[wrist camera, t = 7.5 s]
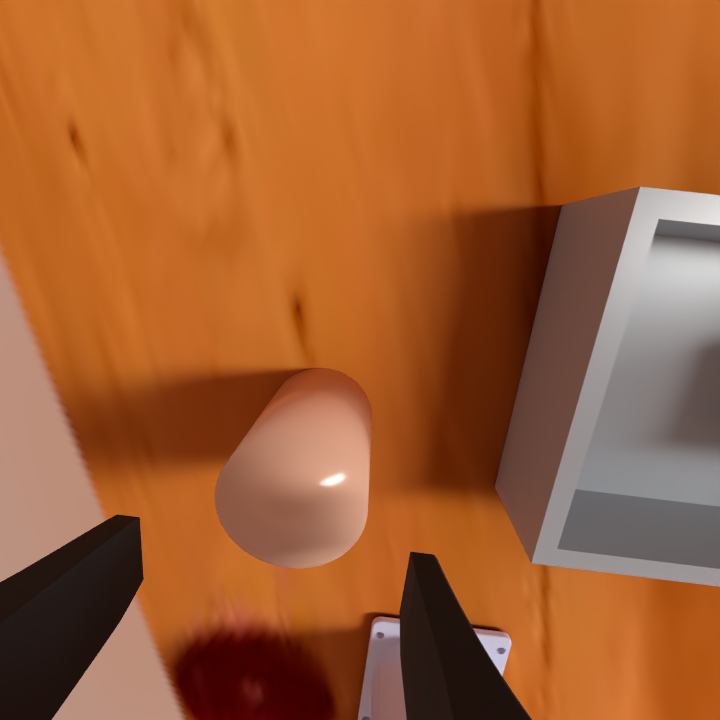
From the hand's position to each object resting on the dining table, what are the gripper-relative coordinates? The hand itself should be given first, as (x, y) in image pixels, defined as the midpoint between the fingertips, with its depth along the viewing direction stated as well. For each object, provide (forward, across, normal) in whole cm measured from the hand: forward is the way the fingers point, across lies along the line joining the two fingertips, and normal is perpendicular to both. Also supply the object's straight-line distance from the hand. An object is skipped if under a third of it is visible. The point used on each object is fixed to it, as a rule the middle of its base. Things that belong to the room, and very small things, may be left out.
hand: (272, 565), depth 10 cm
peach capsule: (+10, 0, 0) cm, 10 cm away
